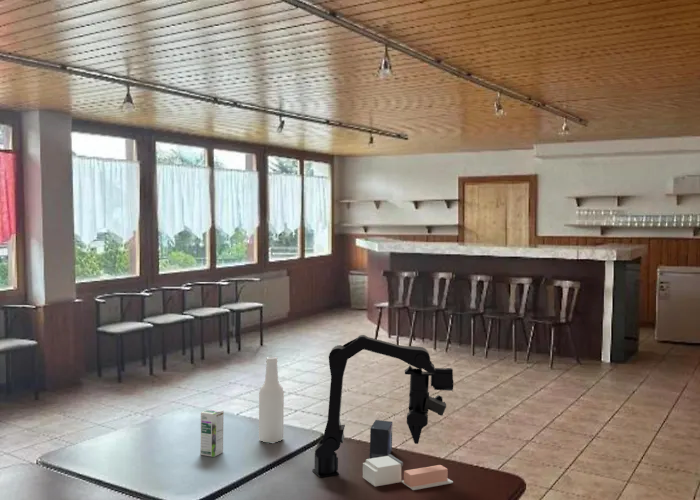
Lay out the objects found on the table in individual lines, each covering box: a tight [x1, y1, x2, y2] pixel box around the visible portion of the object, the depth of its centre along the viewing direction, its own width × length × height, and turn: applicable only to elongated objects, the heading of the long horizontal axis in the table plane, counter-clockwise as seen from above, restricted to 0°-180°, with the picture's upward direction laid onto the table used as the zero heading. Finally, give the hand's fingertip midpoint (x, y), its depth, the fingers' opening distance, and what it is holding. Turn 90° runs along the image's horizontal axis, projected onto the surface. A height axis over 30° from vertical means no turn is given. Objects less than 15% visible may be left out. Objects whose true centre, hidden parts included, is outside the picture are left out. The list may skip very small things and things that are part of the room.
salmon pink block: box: [403, 464, 449, 487], centre depth 199 cm, size 13×4×4 cm, turn 115°
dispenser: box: [362, 453, 404, 487], centre depth 202 cm, size 10×8×6 cm
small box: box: [368, 419, 393, 459], centre depth 224 cm, size 11×6×10 cm, turn 168°
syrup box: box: [199, 408, 225, 458], centre depth 223 cm, size 6×6×14 cm
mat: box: [400, 478, 454, 491], centre depth 200 cm, size 14×7×1 cm, turn 115°
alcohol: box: [258, 356, 285, 443], centre depth 238 cm, size 9×9×30 cm
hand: (416, 438), depth 204 cm, fingers open, 9 cm apart
